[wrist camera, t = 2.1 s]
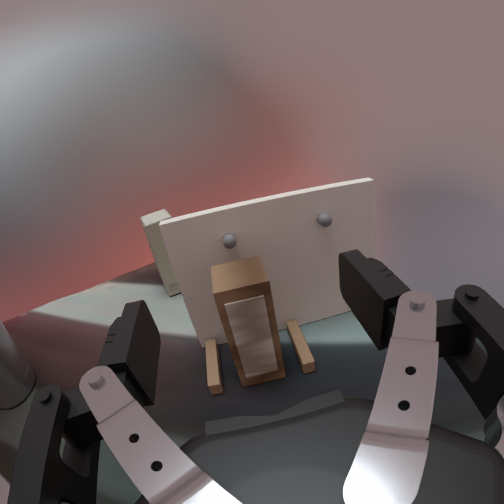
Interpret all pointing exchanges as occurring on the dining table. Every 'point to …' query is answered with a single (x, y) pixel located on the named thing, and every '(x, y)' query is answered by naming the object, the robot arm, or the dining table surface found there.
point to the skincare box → (160, 249)
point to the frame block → (248, 319)
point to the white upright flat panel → (273, 257)
